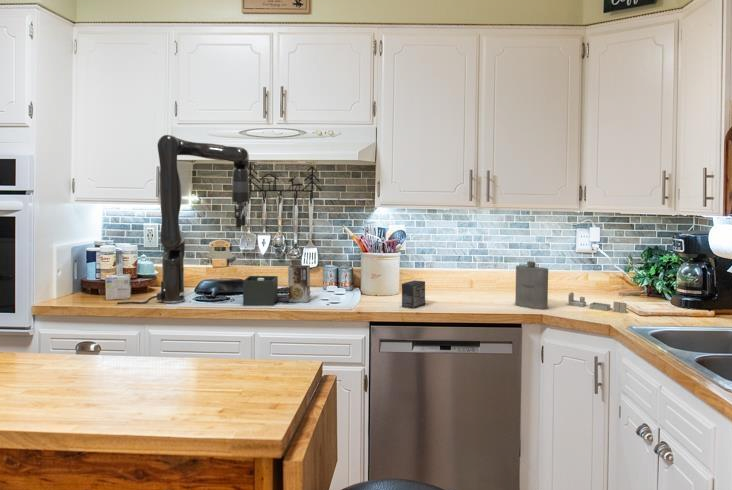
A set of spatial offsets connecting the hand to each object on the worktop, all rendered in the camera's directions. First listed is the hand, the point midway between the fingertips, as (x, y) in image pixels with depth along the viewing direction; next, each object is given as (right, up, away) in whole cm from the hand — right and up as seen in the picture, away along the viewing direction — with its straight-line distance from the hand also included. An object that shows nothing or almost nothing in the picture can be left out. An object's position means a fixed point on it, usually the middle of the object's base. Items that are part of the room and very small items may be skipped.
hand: (240, 226), depth 281 cm
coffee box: (+27, -34, +1) cm, 44 cm away
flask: (+131, -35, -9) cm, 136 cm away
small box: (+79, -35, -8) cm, 87 cm away
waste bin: (+10, -34, -3) cm, 36 cm away
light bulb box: (-58, -34, +5) cm, 67 cm away
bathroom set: (+160, -36, -11) cm, 164 cm away
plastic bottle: (+10, -33, -3) cm, 35 cm away
